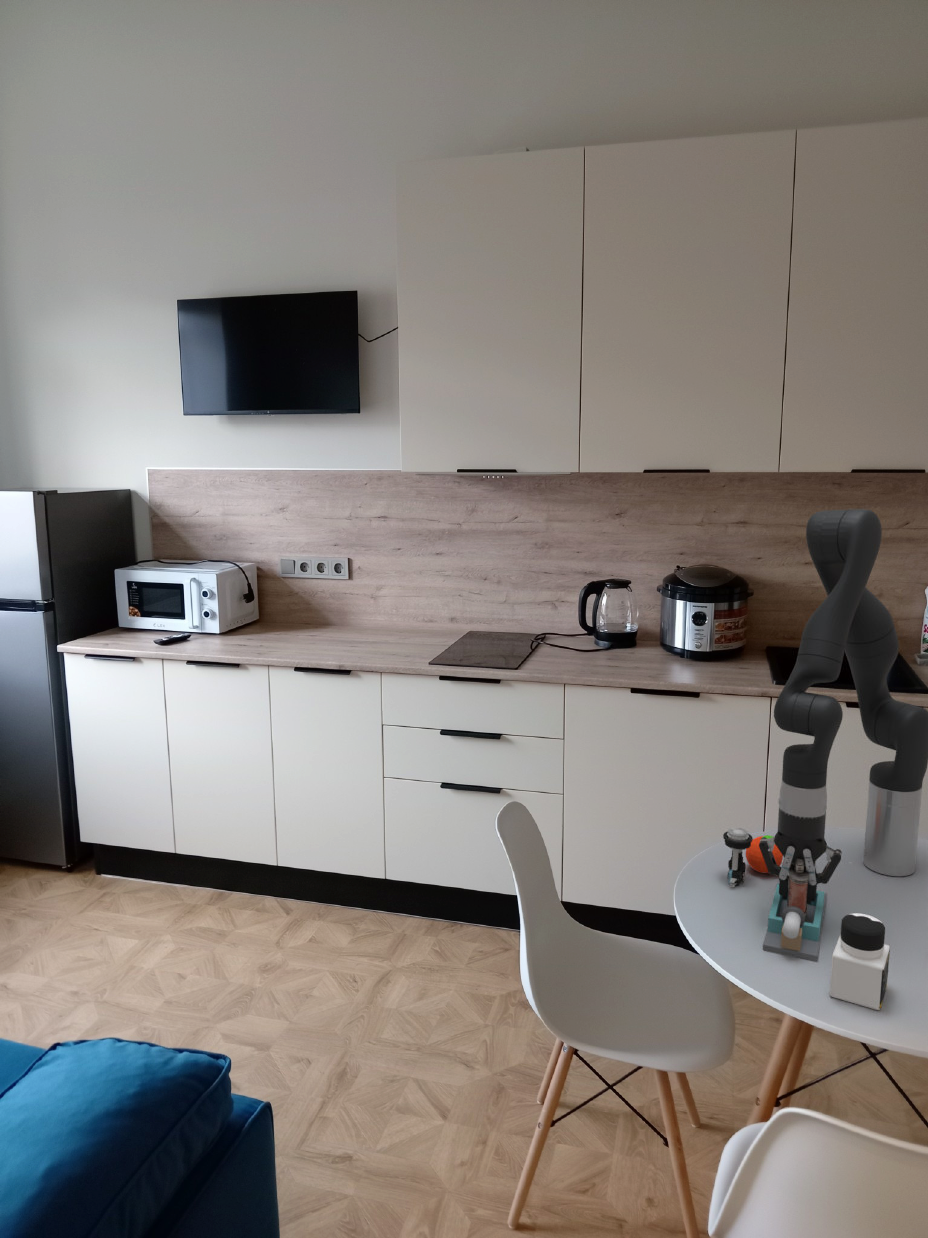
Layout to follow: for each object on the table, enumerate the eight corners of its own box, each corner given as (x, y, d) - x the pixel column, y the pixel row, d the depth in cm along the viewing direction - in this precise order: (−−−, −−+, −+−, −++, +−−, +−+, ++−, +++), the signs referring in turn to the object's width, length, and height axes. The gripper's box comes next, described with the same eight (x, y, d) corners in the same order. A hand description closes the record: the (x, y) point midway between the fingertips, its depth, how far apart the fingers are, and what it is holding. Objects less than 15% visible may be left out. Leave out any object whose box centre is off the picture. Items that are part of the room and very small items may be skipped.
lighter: (786, 896, 160) (789, 844, 158) (806, 899, 159) (809, 846, 157) (786, 919, 153) (789, 864, 151) (807, 922, 151) (810, 867, 150)
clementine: (757, 857, 181) (759, 824, 179) (790, 868, 176) (792, 834, 175) (738, 871, 175) (739, 838, 174) (772, 883, 171) (773, 848, 169)
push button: (745, 892, 167) (747, 842, 165) (716, 886, 170) (718, 837, 168) (753, 877, 173) (755, 829, 171) (725, 871, 176) (727, 823, 174)
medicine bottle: (880, 1012, 132) (886, 938, 130) (829, 997, 136) (833, 925, 134) (887, 987, 138) (892, 915, 136) (837, 973, 142) (842, 903, 140)
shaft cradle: (778, 886, 169) (780, 853, 168) (826, 895, 166) (829, 861, 164) (761, 954, 148) (763, 916, 146) (816, 965, 144) (819, 927, 143)
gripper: (848, 805, 153) (842, 898, 156) (762, 792, 159) (757, 882, 162) (846, 822, 146) (839, 918, 150) (756, 808, 152) (751, 901, 156)
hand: (796, 899), depth 156 cm, fingers closed on lighter, 3 cm apart
